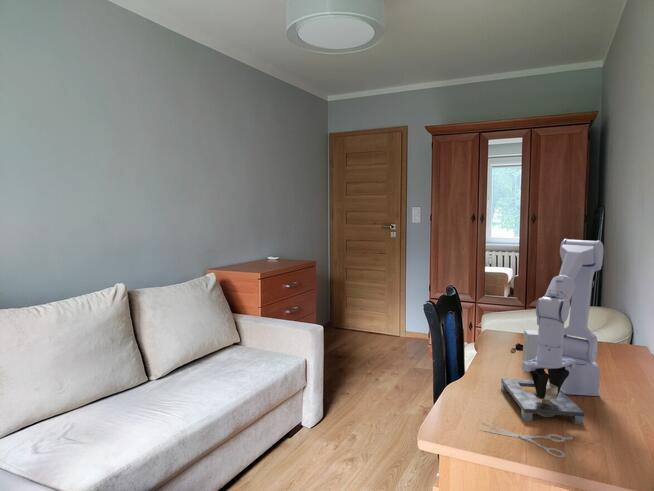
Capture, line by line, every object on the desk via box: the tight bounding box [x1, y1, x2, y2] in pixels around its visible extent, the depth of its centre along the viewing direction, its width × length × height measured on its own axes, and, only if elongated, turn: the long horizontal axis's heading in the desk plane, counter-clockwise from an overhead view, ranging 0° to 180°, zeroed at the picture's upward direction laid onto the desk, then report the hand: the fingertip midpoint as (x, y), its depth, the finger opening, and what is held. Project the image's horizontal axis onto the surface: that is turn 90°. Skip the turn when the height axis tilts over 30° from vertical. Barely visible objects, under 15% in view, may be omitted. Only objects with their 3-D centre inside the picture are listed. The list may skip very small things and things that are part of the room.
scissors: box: [480, 422, 574, 458], centre depth 101 cm, size 11×1×20 cm
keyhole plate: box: [500, 378, 585, 425], centre depth 119 cm, size 14×20×3 cm
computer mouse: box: [510, 343, 523, 353], centre depth 160 cm, size 12×18×4 cm
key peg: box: [535, 382, 558, 418], centre depth 114 cm, size 4×4×8 cm
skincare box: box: [521, 329, 538, 362], centre depth 147 cm, size 6×4×12 cm
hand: (547, 396), depth 113 cm, fingers closed on key peg, 3 cm apart
